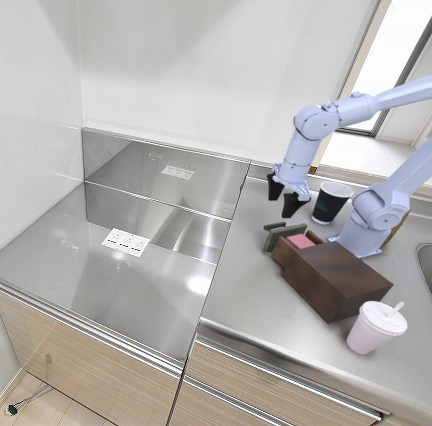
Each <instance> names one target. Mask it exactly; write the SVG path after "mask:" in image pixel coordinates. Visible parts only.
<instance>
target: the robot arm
mask: <svg viewBox="0 0 432 426" xmlns="http://www.w3.org/2000/svg"><path fill="white" fill-rule="evenodd" d="M426 100H427V101H428V100H432V73H431V74H428V75H425V76H422V77H420V78H417V79H414V80H410V81H409V82H406V83H404V84H401V85H397V86H394V87H392V88H389V89H386V90H384V91H381V92H378V93H376V94H375V93H374V94H372V93H370V92H368V91H362V92H361V91H359V90H356V91H353V92H350V96H347V97H343V98H340V99H336V100H333V101H325V102H322V105H321V106H320V105H316V104H310V105H307V106H305V107H303V108H301V110H299V111H298V112H297V114H296V115H294V116H293V117H292V124H293V127H294V130H293V134H292V135H291V138H290V140H289V143H288V146H287V148H286V152H285V155H284V157H283V160H282V162H281V163H273V165H272V167H271V171H272V173H267V174H266V180H267V184H268V186H267V187H268V193H267V199H268V201H269V202H277V201H278V200H279V198H280V196H281V195H282V193H283V191H284V189H285V187H286V188H288V189H290V190H292V191H293V192H284V193H283V208H282V211H281V216H280V217H281V218H282V219H292V217H293V216H295V214H296V213H297V212H298V210H300V209H301V208H303V206H305V205H306V204H308V203H310V202H311V201H312V197H311V196H312V192H311V191H310V190H309V185H308V183H307V180H306V179H307V176H308V174H309V171H310V168H311V166H312V165H313V162H314V160H315V157H316V155H317V153H318V150H319V148H320V145H321V143H322V141H323V139H325V138H327V137H328V136H330V135H331V133H333V132H335V131H337V130H338V129H342V128H347V127H349V126H353V125H357V124H360V123H364V122H367V121H370V120H372V119H373V118H374V116H376V114H377V113H378V112H383V111H386V110H391V109H394V108H398V107H403V106H407V105H411V104H415V103H419V102H423V101H426ZM431 178H432V135H430V136H429V138H428V139H427V140H426V141H424V142H423V143H422V144H421V145H420V146H419V147H418V148H417V149H416V150H415V151H414V152H413V153H412V154H411V155H410V156H409V157H408V158H407V159H406V160H405V161H404V162H403V163H401V165H399V167H398V168H396V170H395V171H394V172H392V173H391V174H390V175H389V176H388V177H387V178H386V179H385V180H384V181H382V182H376V183H375V182H373V183H371V184H370V185H369V186H368V187H367V188H365V189H362V190H361V191H359V192H358V193H356V194H354V196H352V199H351V207H353V209H352V210H351V214H350V217H349V218H348V219H347V221H346V223H345V225H344V227H343V228H342V230H341V232H340V233H339V235H338V236H333V237H330V238H328V239H327V242H331V241H337V242H338V243H339V244H341V245H342V246H343V247H345V248H346V249H347V250H349V251H350V252H351V253H353V254H354V255H355V256H357V257H358V258H359V259H363V258H367V257H370V256H371V257H372V256H374V255H379V254H382V253H383V251H382V249H381V245H382V244H383V243H384V241H385V240H386V238H387V237H388V236H389V234H390V233H391V228H393V227H395V226H397V225H398V224H399V223H400V222H401V220H402V218H403V216H404V215H405V214H406V213H407V212H408V211H409V210H410V211H411V209H410V208H411V207H410V203H411V201H410V200H411V199H410V198H411V195H412V194H414V193H415V192H416V191H417V190H418V189H419V188H420V187H421V186H423V185H424V184H425V183H426V182H427V181H428V180H429V179H431Z"/></svg>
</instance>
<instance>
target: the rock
mask: <svg viewBox="0 0 432 426" xmlns="http://www.w3.org/2000/svg"><path fill="white" fill-rule="evenodd" d="M410 213H411V209H410V210H409V211H408V212H407V213H406V214H405V215H404V216H403V218H402V220H401V222H400V223H399V224H398V225H397V226H395V227H393V228H391V233H390V234H389V236H388V237H387V238H386V240H385V241H384V243H383V244H382V245H381V247H380V249H382V248H383V247H385V246H386V245H387V244H388V243H390V241H391V240H392V238H393V237H394V236H395V235H396V234H397V232H398V231H399V230H400V228H401V227H402V226H403V224H404V222H405V220H406V219H407V217H408V216H409V214H410Z"/></svg>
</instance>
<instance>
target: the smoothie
mask: <svg viewBox="0 0 432 426" xmlns="http://www.w3.org/2000/svg"><path fill="white" fill-rule="evenodd" d="M404 305H405V302H403V301H399V302H398V303H397V305H395V307H394V308H393V307H391V305H388V304H386V303H383V302H381V301H380V302H376V301H368V302H365V303H364V304H363V305H362V306H361V307H360V314H359V315H357V318H356V319H355V322H354V323H353V326H352V328H351V329H350V332H349V334H348V335H347V338H346V339H345V341H346V344H347V346H348V347H349V348H350V349H351V350H352V351H353V352H355V353H356V354H360V355H363V356H364V355H368V354H369V353H371V352H373V351H374V350H376V349H377V348H379V347H381V346H382V345H384V344H385V343H387V342H388V341H390V340H391V339H393V338H394V337H396V336H397V337H398V336H401V335H404V333H405V332H406V330H407V329H408V322H407V320H406V319H405V317H404V316H403V315H402V314H401V313H400V312H399V311H400V310H401V308H402V307H403V306H404Z"/></svg>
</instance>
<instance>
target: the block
mask: <svg viewBox="0 0 432 426" xmlns="http://www.w3.org/2000/svg"><path fill="white" fill-rule="evenodd" d="M286 240H287V241H288V242H289V243H290V244H291V245H292V246H293V247H294V248H296V249H301V248H305V247H310V246H314V245H315V244H314V243H313V242H312V241H310V240H309V239H308V238H307V237H305V234H304V235H303V234H299V235H294V236H290V237H287V238H286Z"/></svg>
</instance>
